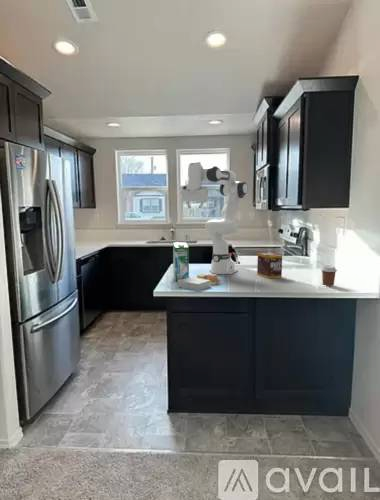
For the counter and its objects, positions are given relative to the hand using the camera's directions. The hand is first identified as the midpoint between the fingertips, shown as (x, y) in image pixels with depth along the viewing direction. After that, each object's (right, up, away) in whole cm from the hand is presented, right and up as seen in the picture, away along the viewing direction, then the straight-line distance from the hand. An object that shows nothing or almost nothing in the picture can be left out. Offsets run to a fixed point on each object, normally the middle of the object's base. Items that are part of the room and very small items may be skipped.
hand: (194, 208), depth 231 cm
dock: (-1, -50, -14) cm, 52 cm away
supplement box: (+53, -46, +17) cm, 72 cm away
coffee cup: (+83, -50, -12) cm, 97 cm away
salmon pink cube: (+11, -47, -4) cm, 49 cm away
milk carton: (-9, -48, +6) cm, 49 cm away
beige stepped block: (+9, -49, -2) cm, 50 cm away
